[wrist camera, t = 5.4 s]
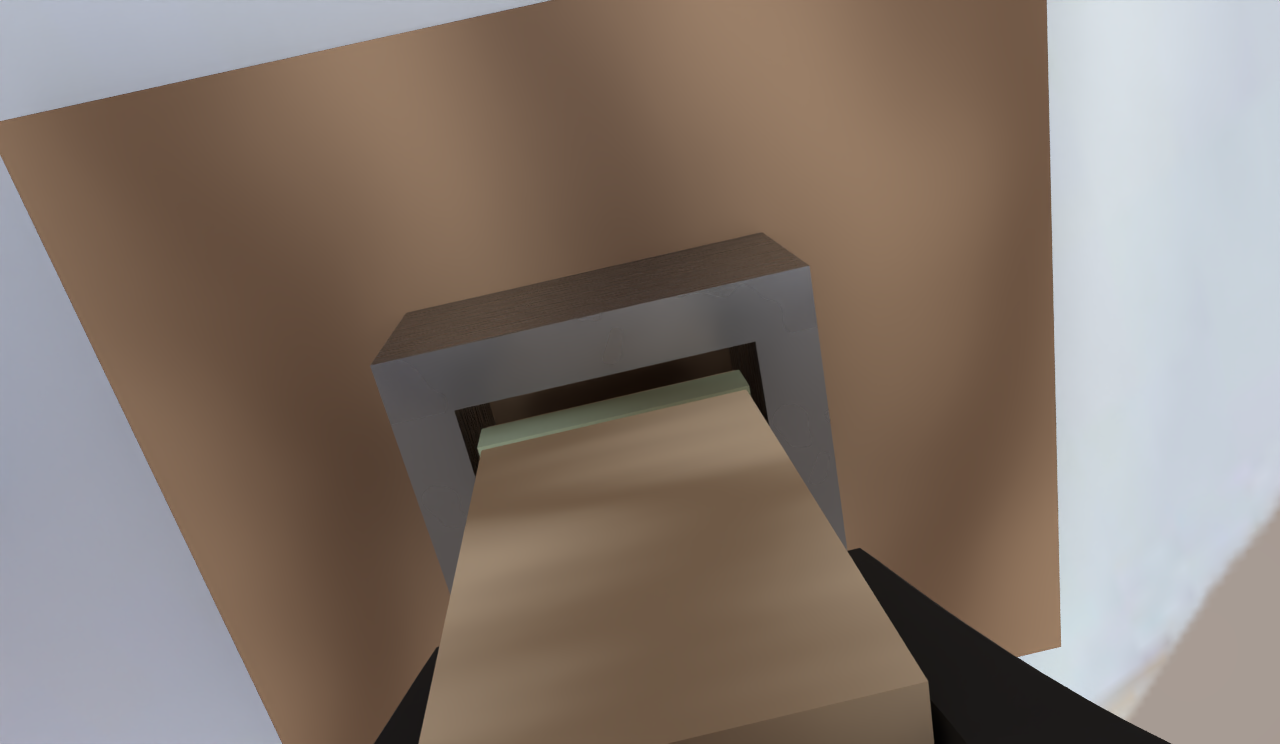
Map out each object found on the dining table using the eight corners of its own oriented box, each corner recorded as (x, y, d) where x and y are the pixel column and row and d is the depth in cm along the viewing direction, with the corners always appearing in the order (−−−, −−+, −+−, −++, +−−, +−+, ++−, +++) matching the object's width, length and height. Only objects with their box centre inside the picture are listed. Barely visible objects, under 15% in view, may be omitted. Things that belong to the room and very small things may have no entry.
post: (546, 634, 14) (534, 1127, 7) (482, 425, 12) (396, 801, 6) (774, 580, 14) (966, 1020, 7) (737, 366, 12) (934, 674, 6)
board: (334, 781, 20) (320, 823, 19) (31, 121, 14) (-15, 124, 13) (1032, 615, 20) (1061, 646, 19) (1006, -93, 14) (1044, -108, 13)
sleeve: (508, 628, 17) (499, 732, 14) (405, 312, 15) (369, 365, 12) (811, 557, 17) (860, 647, 15) (762, 232, 15) (809, 265, 12)
